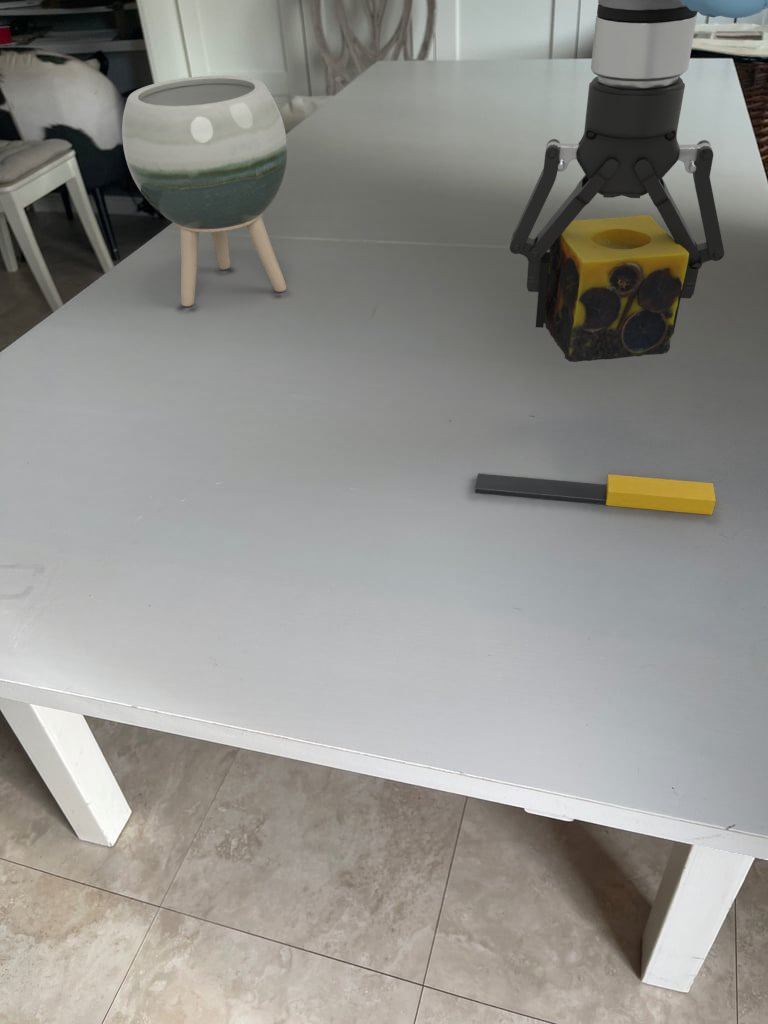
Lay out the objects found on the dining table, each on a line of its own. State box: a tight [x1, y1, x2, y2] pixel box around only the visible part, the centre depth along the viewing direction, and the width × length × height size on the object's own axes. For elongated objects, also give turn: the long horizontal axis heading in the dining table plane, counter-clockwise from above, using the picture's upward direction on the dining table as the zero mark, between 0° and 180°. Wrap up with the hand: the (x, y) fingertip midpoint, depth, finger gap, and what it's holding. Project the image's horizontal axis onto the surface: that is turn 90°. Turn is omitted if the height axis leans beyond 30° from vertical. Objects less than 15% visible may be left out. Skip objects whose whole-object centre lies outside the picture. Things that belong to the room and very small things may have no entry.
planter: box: [121, 75, 288, 308], centre depth 116 cm, size 22×22×28 cm
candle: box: [544, 214, 689, 363], centre depth 76 cm, size 10×10×10 cm
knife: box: [474, 473, 717, 516], centre depth 81 cm, size 23×3×2 cm, turn 78°
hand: (603, 324), depth 79 cm, fingers closed on candle, 11 cm apart
